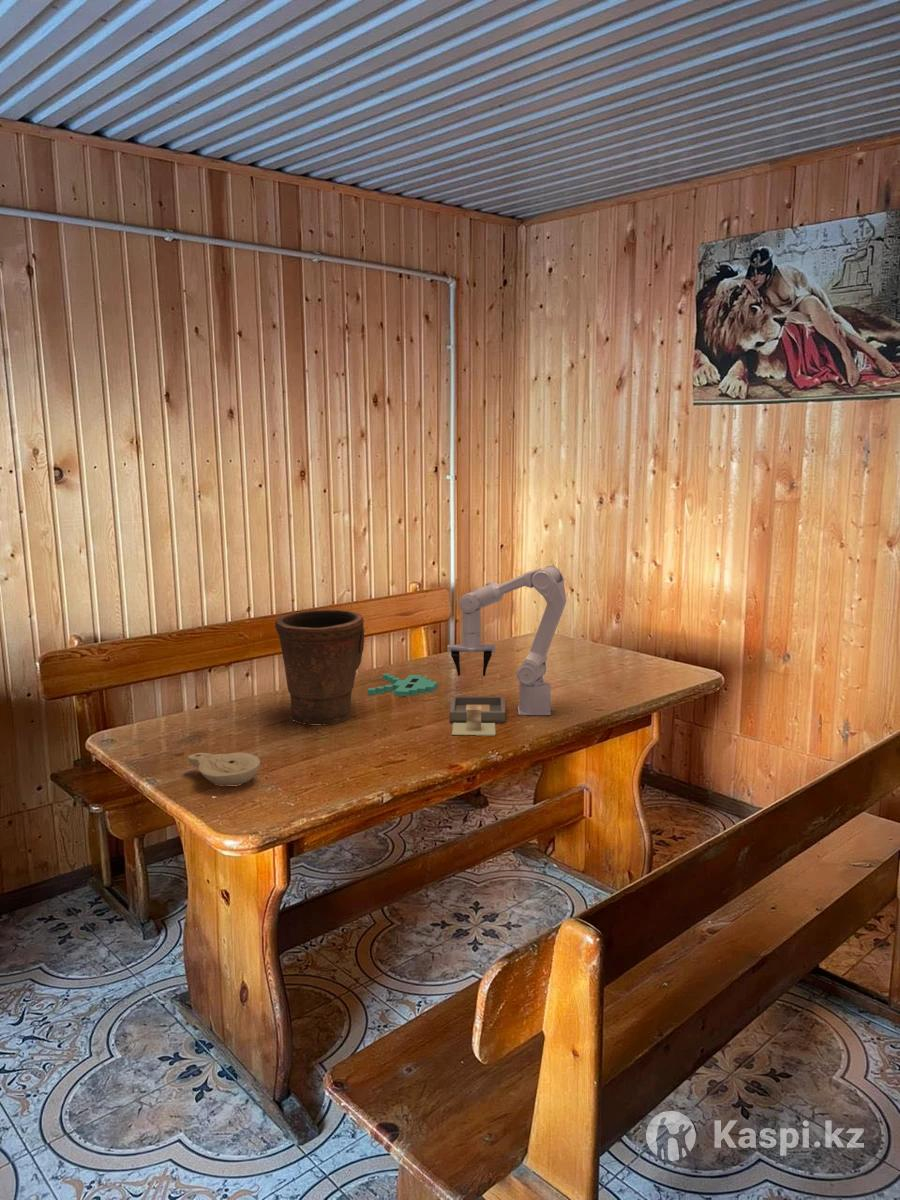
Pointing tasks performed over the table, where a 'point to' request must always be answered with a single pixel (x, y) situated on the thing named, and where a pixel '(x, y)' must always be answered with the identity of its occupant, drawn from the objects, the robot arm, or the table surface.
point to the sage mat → (486, 730)
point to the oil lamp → (226, 767)
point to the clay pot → (321, 662)
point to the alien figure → (405, 685)
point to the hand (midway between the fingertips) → (471, 674)
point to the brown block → (474, 718)
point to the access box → (489, 708)
